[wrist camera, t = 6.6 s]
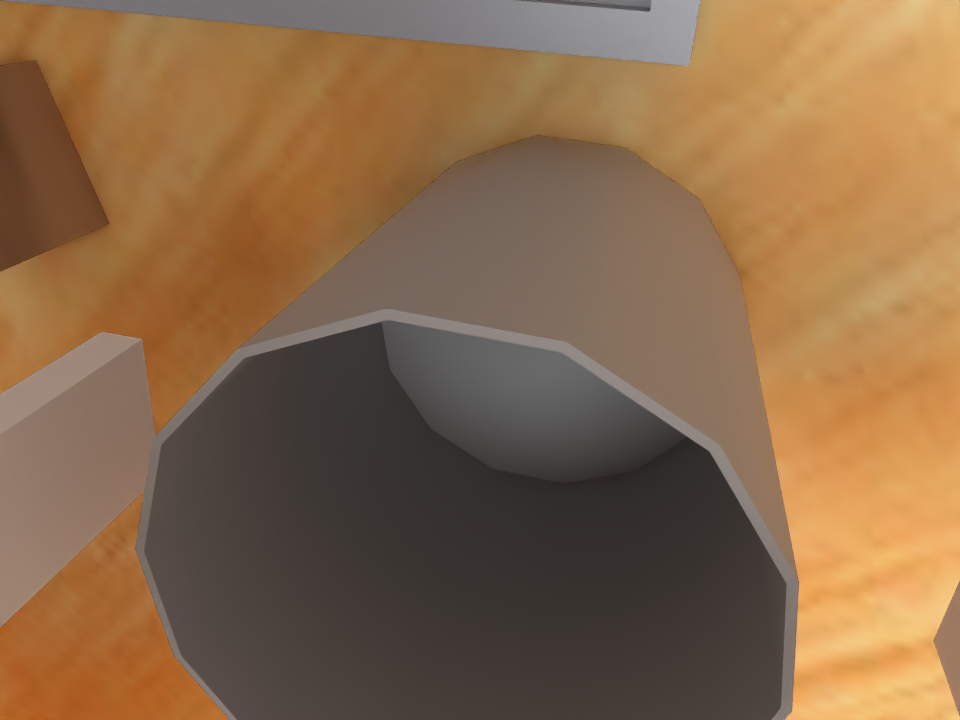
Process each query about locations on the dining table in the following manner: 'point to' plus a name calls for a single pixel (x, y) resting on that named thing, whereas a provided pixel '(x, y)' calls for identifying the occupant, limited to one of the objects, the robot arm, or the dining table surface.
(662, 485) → the cup
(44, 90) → the walnut block
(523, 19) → the tray
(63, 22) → the dining table surface
